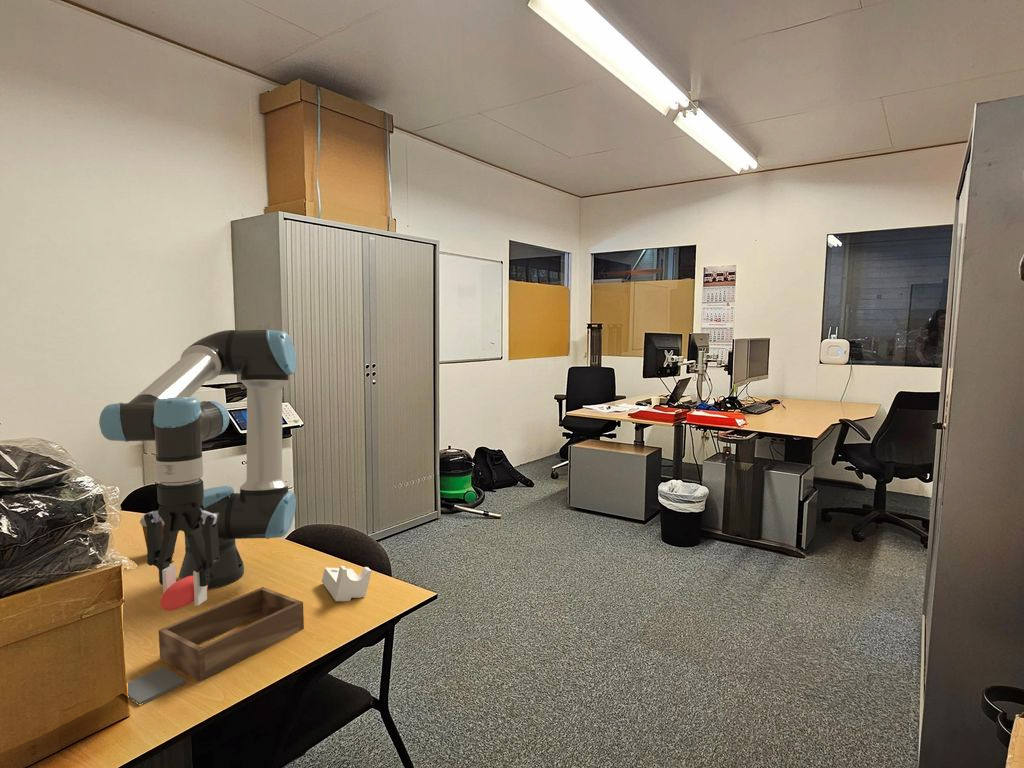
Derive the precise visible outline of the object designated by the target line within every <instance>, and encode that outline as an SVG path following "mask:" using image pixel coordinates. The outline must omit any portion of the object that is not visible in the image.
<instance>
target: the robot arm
mask: <svg viewBox="0 0 1024 768" xmlns="http://www.w3.org/2000/svg"><path fill="white" fill-rule="evenodd" d="M296 367H297V353H296V348H295V346H294V343H293V341H292V337H291V336H290V335H289V334H288V333H287V332H285V331H283V330H275V329H273V330H272V329H244V330H243V329H239V330H237V329H236V330H235V329H228V330H226V329H225V330H221V331H216V332H215V333H212V334H209V335H207V336H204V337H202V338H200V339H198V340H197V341H195V342H193V343H192V344H191V345H189V346H188V347H187V348H185V349H184V351H182V353H181V355H180V359H179V360H178V361H176V362H175V363H174V364H173V365H171V367H170V368H168V369H167V370H166V371H164V373H162V374H161V375H159V376H158V377H157V378H156V379H155V380H154V381H153V382H152V383H150V384H149V385H148V386H147V387H145V388H144V389H143V390H142V391H141V392H139V393H138V394H137V395H136V396H135V397H134V398H133V399H131V400H130V401H129V402H127V403H124V402H118V403H111V404H108V405H106V406H104V408H103V409H102V410H101V413H100V416H99V421H98V423H99V424H98V425H99V429H100V433H101V435H102V436H103V437H104V438H105V439H106V440H108V441H113V442H115V441H116V442H126V443H128V442H150V441H151V442H152V441H153V442H154V441H155V444H154V445H155V454H156V455H155V464H156V480H157V482H159V483H158V485H157V486H156V490H157V491H156V493H157V494H156V495H157V503H158V504H159V507H158V510H156V509H155V510H152V511H149V512H147V513H148V514H147V513H144V514H145V515H144V514H143V515H144V520H145V522H146V525H147V547H146V550H147V551H146V555H147V556H146V558H147V560H146V561H147V565H148V566H154V567H156V568H157V569H158V579H159V581H158V583H159V585H160V586H162V592H163V593H162V595H163V594H164V592H165V591H166V590H167V589H168V588H169V587H170V586H171V585H172V584H174V583H176V582H177V571H176V569H177V568H176V564H173V563H174V562H175V560H173V557H174V554H175V549H174V548H176V544H177V540H178V539H177V538H178V535H179V532H180V531H181V532H183V535H184V546H185V554H184V557H183V560H182V563H181V566H180V571H179V574H178V581H179V580H181V579H183V578H185V577H188V576H193V579H194V602H193V603H194V606H200V605H201V604H203V603H204V602H206V601H207V600H208V590H210V589H215V588H219V587H224V586H226V585H230V584H232V583H234V582H237V580H239V579H241V578H242V577H243V575H244V573H245V565H244V562H243V561H244V560H243V559H242V557H241V555H240V552H239V550H238V547H237V544H236V540H241V539H242V540H245V539H266V540H269V539H275V538H283V537H285V536H286V535H287V534H288V532H289V531H290V529H291V527H292V524H293V523H294V518H295V514H296V507H297V506H296V505H297V499H296V494H295V493H294V492H292V491H289V483H287V482H286V481H285V480H284V479H283V388H284V387H285V386H286V385H287V383H289V380H290V379H289V377H290V376H292V375H294V374H296V369H297V368H296ZM225 375H227V376H228V375H237V376H238V375H240V383H242V384H243V386H245V388H246V480H245V482H243V484H241V486H240V487H239V492H238V493H237V492H236V493H235V489H234V488H233V486H231V485H230V486H229V485H222V486H215V487H209V488H205V489H204V480H203V479H202V477H203V476H204V467H203V466H204V465H203V447H202V446H203V443H202V442H204V441H207V440H211V439H214V438H216V437H218V436H219V435H221V434H223V433H224V432H225V431H226V429H227V428H228V426H229V424H230V414H229V410H227V408H226V407H225V406H224V405H223V404H222V403H219V402H218V401H215V400H214V401H212V400H211V401H209V400H208V401H205V400H202V401H200V400H199V399H198V398H197V397H192V396H193V395H194V394H195V393H196V392H197V391H198V390H199V389H200V388H201V387H202V386H203V385H204V384H205V383H206V382H209V381H212V380H214V379H216V378H217V377H218V376H225ZM161 519H162V520H163V521H164V523H165V525H164V529H163V535H164V536H163V540H162V522H161ZM173 553H174V554H173ZM207 585H208V588H207Z"/></svg>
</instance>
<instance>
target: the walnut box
mask: <svg viewBox="0 0 1024 768" xmlns="http://www.w3.org/2000/svg"><path fill="white" fill-rule="evenodd" d="M261 616H264V617H263V618H261V619H258V620H256V621H254V622H252V623H249V624H247V625H245V626H243V627H241V628H239V629H236V630H234V631H232V632H230V633H228V634H225V635H223V636H221V637H219V638H217V639H215V640H213V641H211V642H208V643H206V644H204V645H202V646H200V644H202V643H204V642H207V641H210V640H211V639H213V638H216V637H217V636H220V635H222V634H224V633H227V632H229V631H231V630H233V629H235V628H238V627H239V626H241V625H244V624H246V623H248V622H250V621H253V620H255V619H257V618H259V617H261ZM304 617H305V615H304V601H301V600H298V599H296V598H293V597H290V596H287V595H286V594H283V593H280V592H277V591H275V590H272V589H270V588H266V587H264V586H262V587H260V588H256V589H255V590H252V591H250V592H247V593H244V594H243V595H239V596H237V597H234V598H233V599H231V600H228V601H225V602H223V603H221V604H218V605H215V606H213V607H211V608H209V609H206V610H204V611H201V612H198V613H196V614H195V615H191V616H189V617H187V618H185V619H181V620H180V621H177V622H174V623H173V624H170V625H167V626H165V627H163V628H160V629H158V645H159V660H160V661H163V662H164V663H165V664H168V665H170V666H172V667H174V668H175V669H177V670H179V671H180V672H182V673H184V674H186V675H187V676H189V677H191V678H193V679H194V680H196V681H198V682H203V681H205V680H207V679H209V678H211V677H213V676H215V675H217V674H219V673H221V672H222V671H223V672H224V670H227V669H228V668H230V667H232V666H234V665H236V664H238V663H240V662H242V661H244V660H245V659H248V658H249V657H252V656H254V655H255V654H257V653H259V652H261V651H263V650H265V649H267V648H269V647H271V646H273V645H275V644H277V643H280V641H282V640H285V639H287V638H288V637H289V638H290V636H293V635H294V634H296V633H298V632H301V631H302V630H304V629H305V625H304V624H305V623H304V622H305V619H304Z"/></svg>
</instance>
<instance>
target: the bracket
mask: <svg viewBox="0 0 1024 768" xmlns="http://www.w3.org/2000/svg"><path fill="white" fill-rule="evenodd" d="M371 574H372V569H370V568H369V566H364V567H363V570H362V571H361V573H359V574H357V573H356V572H355V571H354V569H352V568H346V566H345V565H339V567H324V570H323V574H322V577H321V583H322V584H323V586H325V589H326V590H327V591H328V592H329V594H330V595H331V596H332V598H333V600H334V601H335V602H351V600H352V598H353V599H354V598H358V599H359V598H360V599H361V597H363V598H365V597H364V596H367V591H368V588H369V583H370V579H371Z"/></svg>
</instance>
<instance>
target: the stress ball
mask: <svg viewBox="0 0 1024 768" xmlns="http://www.w3.org/2000/svg"><path fill="white" fill-rule="evenodd" d="M207 588H208V585H207ZM192 603H195V602H194V579H193V576H188V577H185V578H183V579H181V580H179V579H178V580H176V583H174V584H172V585H171V586H170V587H169V588H168V589H167V590H166V591H165V592H164V594H163V593H162V595H161V598H160V599H159V605H160V607H161V609H162V610H164V611H166V612H168V611H169V612H170V611H171V612H173V611H176V610H179V609H183V608H185V607H186V606H189V605H190V604H192Z"/></svg>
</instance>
